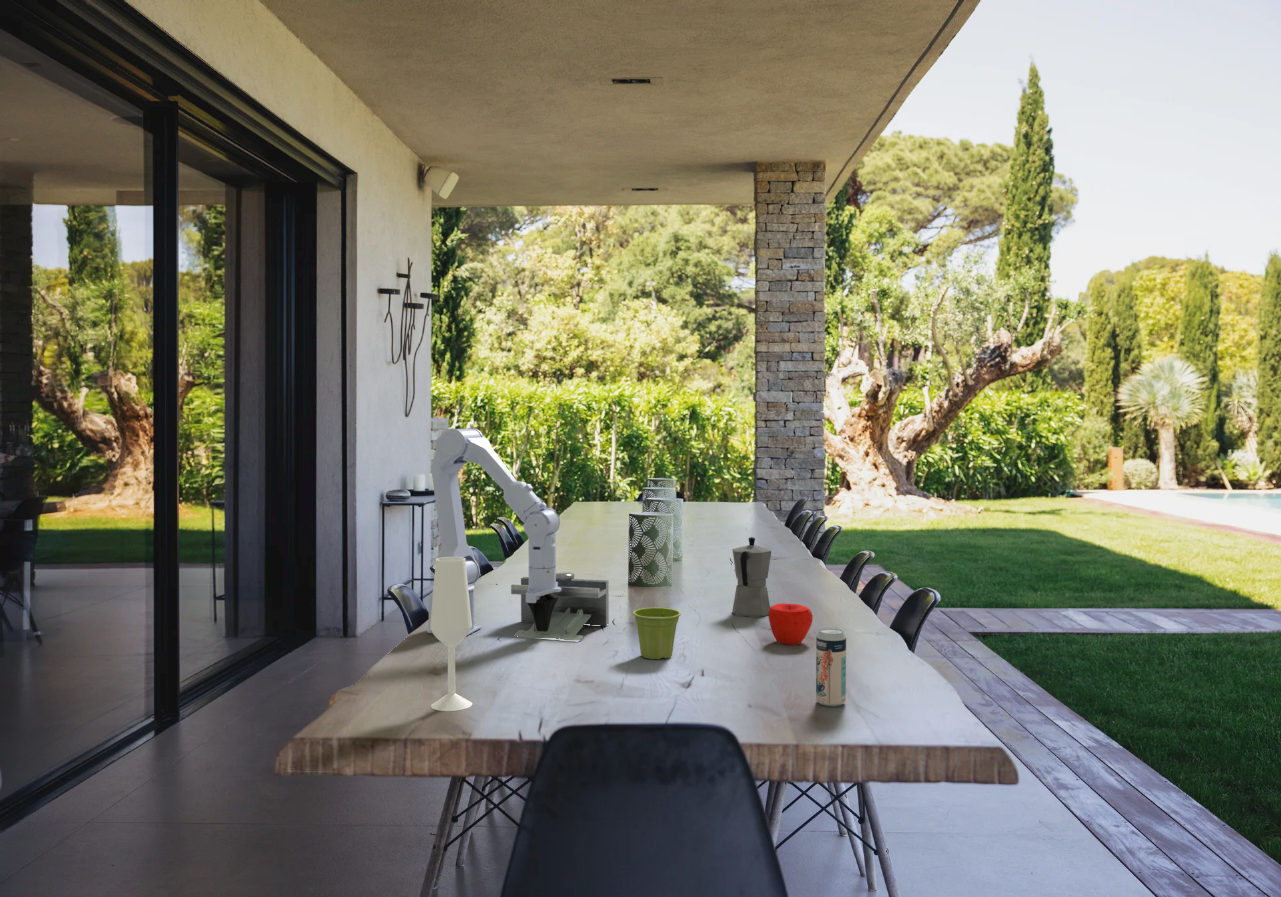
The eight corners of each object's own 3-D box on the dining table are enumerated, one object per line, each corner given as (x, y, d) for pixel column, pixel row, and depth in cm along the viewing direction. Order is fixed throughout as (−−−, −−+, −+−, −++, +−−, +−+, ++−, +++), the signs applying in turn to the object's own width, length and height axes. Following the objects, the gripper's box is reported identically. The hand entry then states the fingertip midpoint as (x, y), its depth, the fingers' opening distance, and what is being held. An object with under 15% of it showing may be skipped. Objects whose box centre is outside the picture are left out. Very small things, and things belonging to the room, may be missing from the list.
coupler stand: (511, 627, 225) (511, 577, 224) (526, 619, 234) (525, 570, 233) (598, 632, 220) (598, 581, 219) (610, 623, 229) (609, 574, 228)
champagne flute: (470, 710, 163) (469, 561, 162) (428, 711, 163) (426, 562, 162) (474, 698, 170) (473, 555, 169) (433, 699, 170) (432, 556, 169)
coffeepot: (738, 606, 249) (739, 533, 248) (777, 609, 245) (777, 534, 245) (722, 619, 234) (722, 541, 233) (762, 621, 231) (763, 542, 230)
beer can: (812, 699, 169) (813, 628, 169) (840, 699, 170) (841, 627, 169) (820, 708, 165) (820, 634, 164) (849, 707, 165) (849, 634, 165)
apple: (817, 640, 212) (817, 603, 212) (803, 649, 205) (803, 610, 204) (776, 636, 217) (777, 599, 216) (761, 644, 209) (761, 606, 209)
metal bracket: (538, 601, 227) (600, 606, 222) (541, 624, 229) (603, 629, 223) (509, 632, 214) (574, 638, 209) (513, 656, 216) (577, 663, 211)
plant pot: (686, 652, 202) (686, 609, 202) (672, 664, 193) (672, 618, 193) (642, 649, 205) (642, 606, 205) (626, 660, 196) (626, 615, 196)
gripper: (548, 572, 206) (549, 639, 207) (571, 562, 220) (571, 624, 221) (516, 571, 208) (516, 637, 208) (540, 561, 222) (540, 623, 223)
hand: (542, 630), depth 215 cm, fingers closed
